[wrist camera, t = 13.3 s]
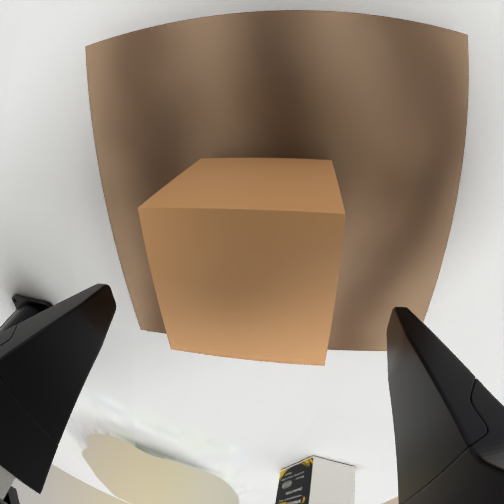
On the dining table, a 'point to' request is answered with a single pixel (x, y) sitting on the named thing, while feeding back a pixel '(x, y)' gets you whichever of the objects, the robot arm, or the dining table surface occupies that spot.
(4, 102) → the dining table surface
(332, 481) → the medicine bottle
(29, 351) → the robot arm
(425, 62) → the wooden base with peg
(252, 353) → the peach wooden cube
